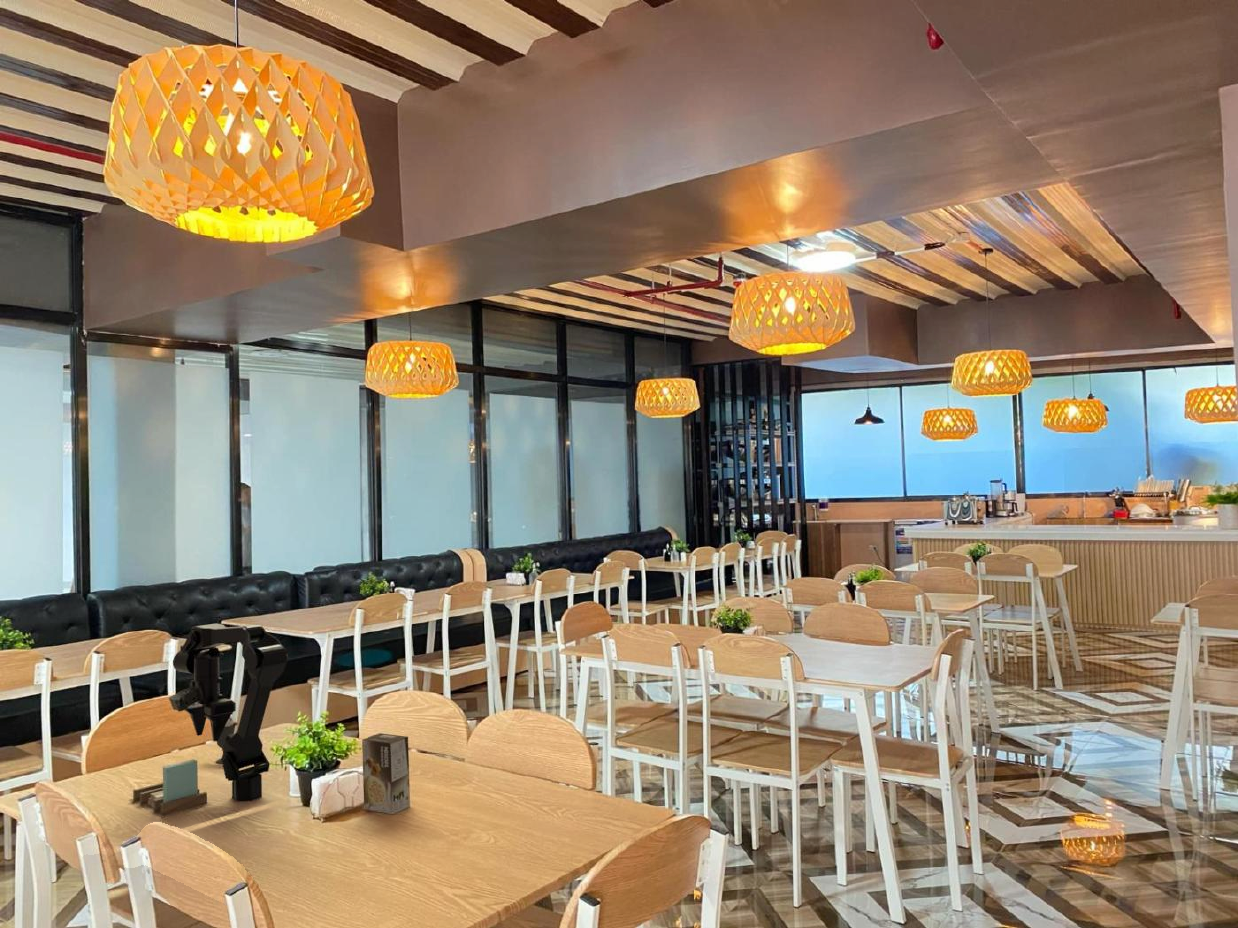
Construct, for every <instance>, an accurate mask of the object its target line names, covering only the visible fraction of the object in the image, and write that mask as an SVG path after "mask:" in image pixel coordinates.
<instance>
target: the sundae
mask: <svg viewBox="0 0 1238 928" xmlns="http://www.w3.org/2000/svg"><path fill="white" fill-rule="evenodd" d="M237 725H239V723H238V722H236V721H234V719H233V718H232V715H231V716H230V718H229V719H228V721H227V723H226V725H225V727H224V729H223V732H222V734H221V736H220V738H219V740H218V741H216V745H217V746H218V747H219V748H221V750H222V749H223V747H224V744H225V739H226V737H227V736H228V735H231V734H235V729H236V726H237ZM215 763H216V764H222V757H221V758H219V759H217V760H215Z"/></svg>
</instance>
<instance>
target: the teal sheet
mask: <svg viewBox="0 0 1238 928" xmlns="http://www.w3.org/2000/svg"><path fill="white" fill-rule="evenodd" d="M198 776H199V774H198V760H196V759H190V760H185V761H181V762H177V763H173V764H168V765H164V766H162V783H163V803H165V802H169V801H172V800H176V799H180V798H184V797H187V796H191V795H195V794H198V789H199V784H198V783H199V782H198V779H199V778H198Z"/></svg>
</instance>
